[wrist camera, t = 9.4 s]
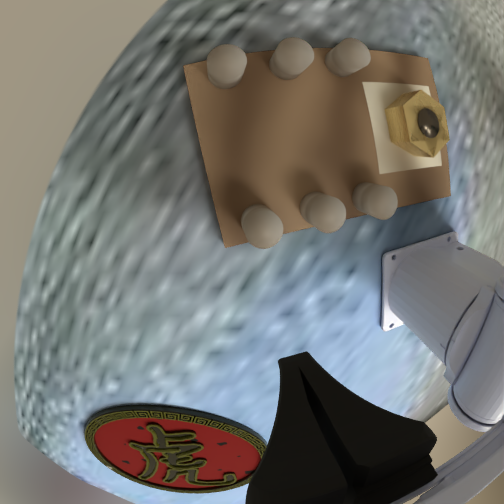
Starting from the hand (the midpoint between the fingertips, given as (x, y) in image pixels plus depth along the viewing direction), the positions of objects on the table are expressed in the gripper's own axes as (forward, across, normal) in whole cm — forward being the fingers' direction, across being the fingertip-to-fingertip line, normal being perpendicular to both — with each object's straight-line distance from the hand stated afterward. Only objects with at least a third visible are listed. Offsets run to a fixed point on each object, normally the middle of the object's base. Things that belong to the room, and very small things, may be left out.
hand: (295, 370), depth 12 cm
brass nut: (+9, -14, -10) cm, 19 cm away
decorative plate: (+10, +16, +23) cm, 30 cm away
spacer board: (+9, -8, -10) cm, 16 cm away
